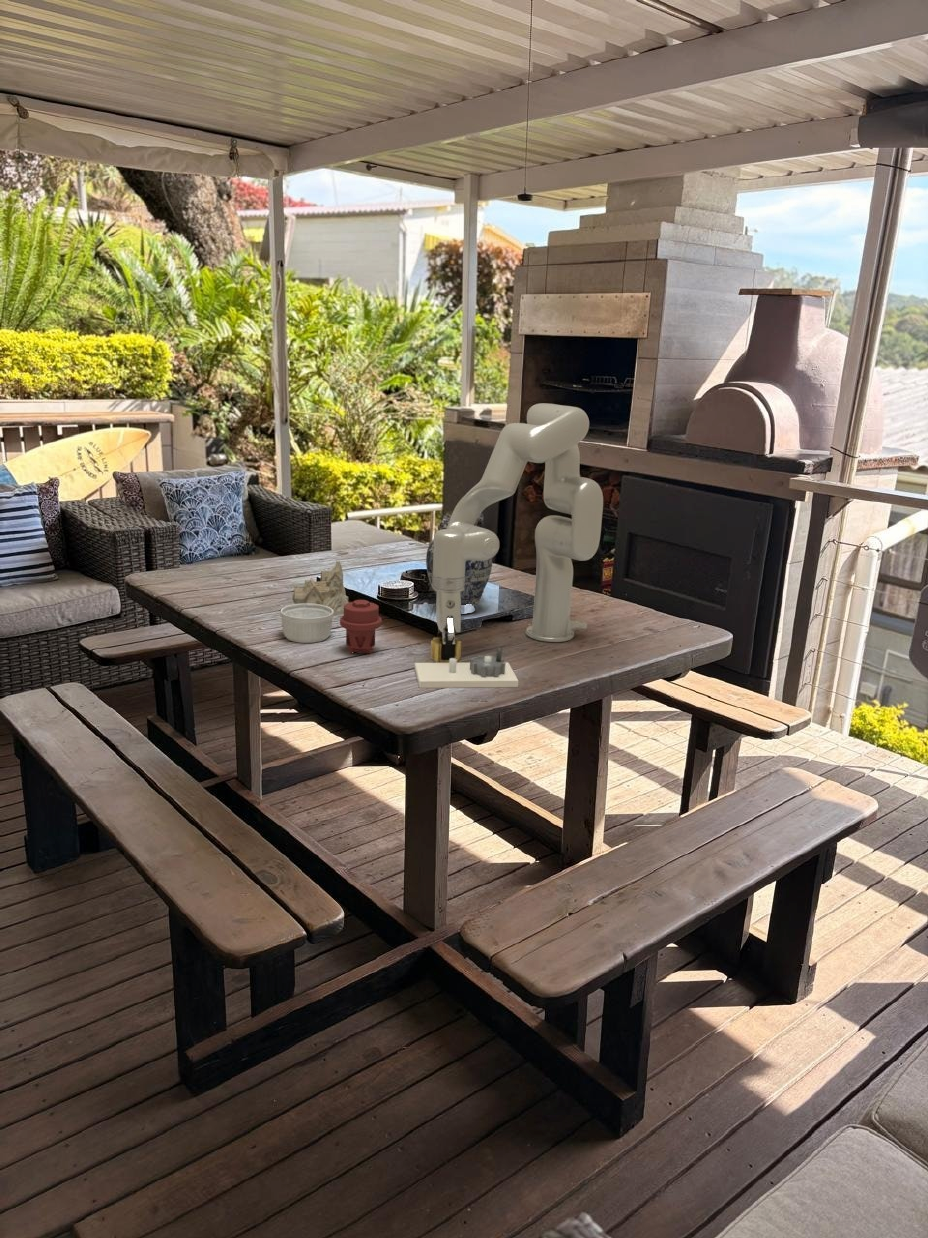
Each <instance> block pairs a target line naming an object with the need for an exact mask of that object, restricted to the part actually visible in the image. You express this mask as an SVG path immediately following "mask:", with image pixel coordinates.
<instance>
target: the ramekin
mask: <svg viewBox="0 0 928 1238" xmlns="http://www.w3.org/2000/svg"><path fill="white" fill-rule="evenodd" d="M280 609H281V610H280V613H279V614H280V618H281V626H282V631H283V632H282V633H283V635H284V637H285V638H286V639H287V640H289V641H292V642H295V643H301V644H312V643H313V644H314V643H320V642H324V641H326V640H327V639H328V638H329V636H330V635H331V633H332V628H333V627H332V626H333V619H334V617H335V616H334V611H333V609H332V608H330V607H328V606H324V605H320V604H309V603H305V604H295V603H292V604H289V605H287V606H284V607H282V608H280Z"/></svg>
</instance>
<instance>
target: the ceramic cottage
mask: <svg viewBox="0 0 928 1238" xmlns="http://www.w3.org/2000/svg"><path fill="white" fill-rule="evenodd" d="M319 578H320V579H319V581H315V580H314V579H313V578H309V579H310V580H309V579H308V580H307V579H305V580H304V585H294V588H293V594H292V603H293V604H305V603H309V604H320V605H324V606H328V607H330V608H332V609H333V611H334V617H335V616H344V605H345V604H347V603H350V602H349V596H347V594H346V589H345V588H346V587H345V585H344V571H343V567H342V562H341V560H335V565H334V566H333V567H332V568H331V570H321V571H320V577H319Z"/></svg>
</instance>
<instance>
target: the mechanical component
mask: <svg viewBox="0 0 928 1238" xmlns="http://www.w3.org/2000/svg"><path fill="white" fill-rule="evenodd" d="M379 611H380V610H379V605H378V604H376V603H374V602H370V601H369V600H367V599H356V600H353V601H351V602H349V603H347V604H345V605H344V614H343V615H341V616H340V618H339V625H340V626H341V627H342V628H344V629H345V631H346V633H345V637H346V638H345V644H346V646H347V652H348V653H349V652H350V653H349V654H355V653H354V652H364V653H363V654H368V653H370V654H373V651H374V647H375V645H376V630H377V629H379V628H381V627H382V625H383V620H382V617H381V616H379ZM352 652H353V653H352Z"/></svg>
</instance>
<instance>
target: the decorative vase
mask: <svg viewBox="0 0 928 1238" xmlns="http://www.w3.org/2000/svg"><path fill="white" fill-rule="evenodd" d="M453 511H454V510H449V511H446V514H445V515H443V517H442V520H440V521H439V522H438V526H437V531H439V530H442V529H447V526H448V524H449V521H450V518H451V516H452V514H453ZM483 524H484V514H483V512H481V513H480V515H479V516H478V518H477V519H476V521H475V524H474V526H478V527H481V528H483ZM433 555H434V538H433V539H432V540H431V541H430V543H429V545H428V547H427V551H426V555H425V558H426V559H425V561H426V562H425V564H426V566H425V567H426V572H427V577H428V580H429V583H430V586H431V587H432V582H433ZM492 567H493V557H492V558H490V559H488V560H484V561H477V560H467V561H466V562H465V583H464V590H463V591H461V592H460V595H461V605H466V604H472V605H475V604H476V603H479V602H480V601H481V599H482V596H483V594H484V590H485V588H486V586H487V584H488V583H489V579H490V577H491V573H492V569H493V568H492ZM432 590H433V592H434V593H435V595H436V596H437V591H436V590H434V589H433V588H432Z"/></svg>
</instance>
